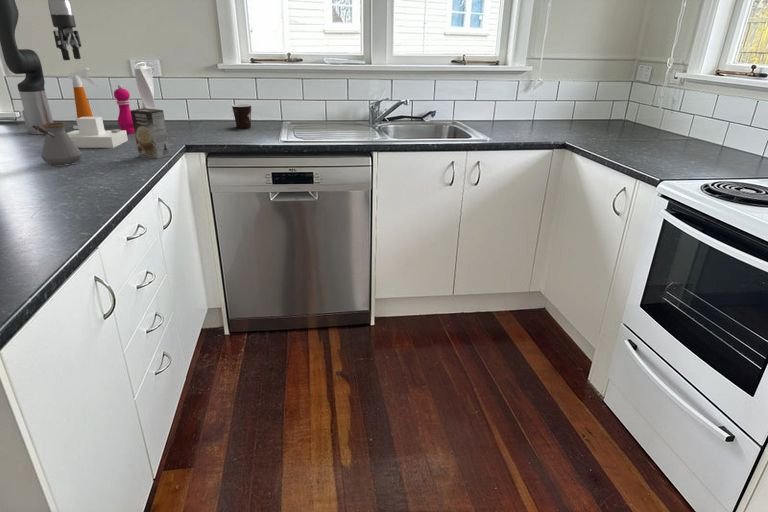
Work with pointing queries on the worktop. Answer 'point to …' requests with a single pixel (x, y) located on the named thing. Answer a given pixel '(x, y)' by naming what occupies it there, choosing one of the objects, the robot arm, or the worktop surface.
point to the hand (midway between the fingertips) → (72, 59)
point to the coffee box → (150, 133)
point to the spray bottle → (81, 92)
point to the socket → (99, 139)
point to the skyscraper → (145, 86)
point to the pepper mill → (124, 110)
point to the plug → (90, 125)
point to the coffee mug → (242, 115)
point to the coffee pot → (58, 145)
